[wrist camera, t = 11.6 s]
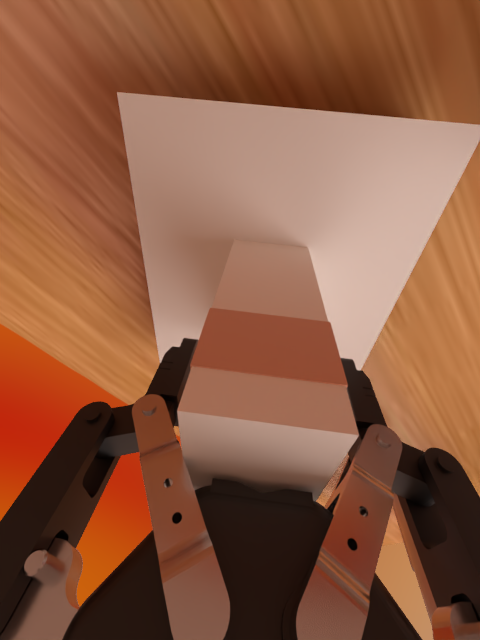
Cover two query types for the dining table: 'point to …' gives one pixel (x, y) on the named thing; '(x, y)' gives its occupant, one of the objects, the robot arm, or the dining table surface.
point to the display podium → (285, 202)
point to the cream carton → (266, 379)
